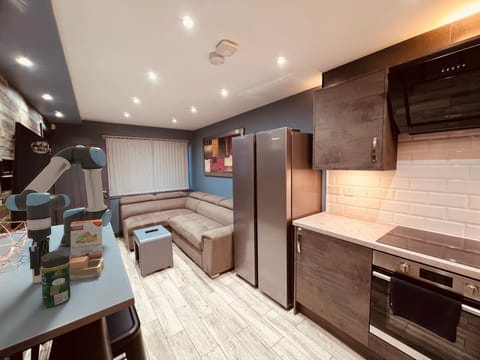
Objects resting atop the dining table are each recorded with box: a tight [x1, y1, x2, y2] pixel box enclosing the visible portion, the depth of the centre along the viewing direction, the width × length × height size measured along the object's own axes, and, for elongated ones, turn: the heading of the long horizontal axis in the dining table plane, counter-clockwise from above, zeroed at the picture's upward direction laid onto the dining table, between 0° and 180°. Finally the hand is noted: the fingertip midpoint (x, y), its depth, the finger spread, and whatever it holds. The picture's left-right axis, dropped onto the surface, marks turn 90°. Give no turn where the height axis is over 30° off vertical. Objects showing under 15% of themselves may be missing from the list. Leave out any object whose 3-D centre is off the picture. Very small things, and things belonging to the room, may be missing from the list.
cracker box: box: [70, 219, 103, 260], centre depth 112 cm, size 14×6×21 cm, turn 124°
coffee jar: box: [41, 249, 72, 308], centre depth 75 cm, size 10×8×19 cm
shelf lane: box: [70, 258, 105, 281], centre depth 95 cm, size 10×15×4 cm
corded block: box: [31, 256, 89, 284], centre depth 92 cm, size 6×18×10 cm, turn 116°
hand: (40, 278), depth 89 cm, fingers closed on corded block, 4 cm apart
